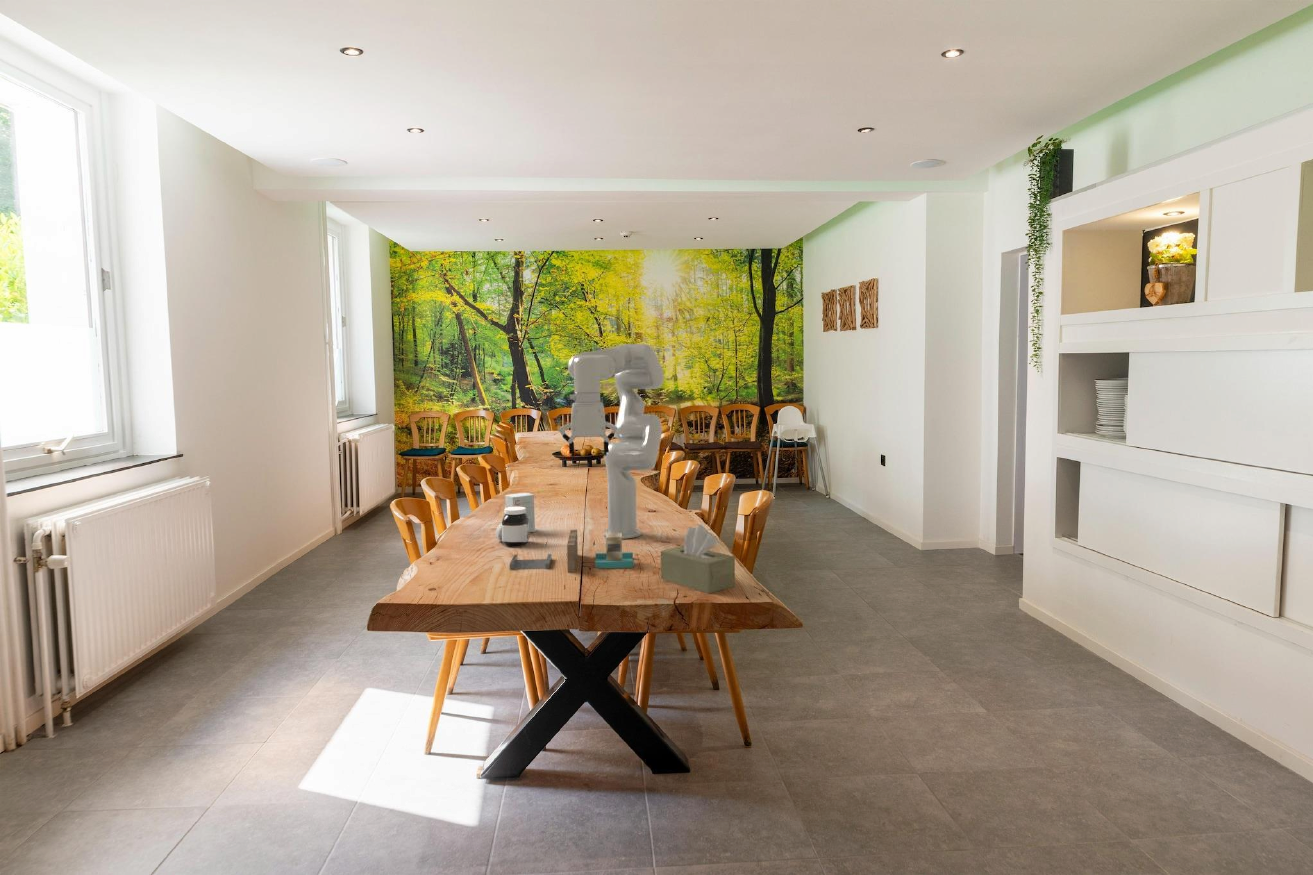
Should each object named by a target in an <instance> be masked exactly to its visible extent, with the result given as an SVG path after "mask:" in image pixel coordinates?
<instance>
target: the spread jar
mask: <svg viewBox="0 0 1313 875" xmlns="http://www.w3.org/2000/svg"><path fill="white" fill-rule="evenodd" d="M494 535H495V539H497V540H498V541H499V542H502V543H503V544H504V545H505V546H506V545H508V546H507V547H512V546H515V547H522V546H521V545H523V546H526V545H527V544H529V540H530V532H529V518H528V516H527V514H526V508H525V507H508V508H504V515H503V518H502V520H501V523H500V524H499V525H498V526H497V527H496V529H495V534H494Z"/></svg>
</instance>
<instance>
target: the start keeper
mask: <svg viewBox="0 0 1313 875" xmlns="http://www.w3.org/2000/svg"><path fill="white" fill-rule="evenodd" d="M551 563H552V554H551V553H548V554H547V557H546V559H545V558H542V559H541V558H540V559H539V558H536V559H535V558H534V559H533V558H532V559H519V558H518V554H514V555H513V557H512V559H511V561H510V562H509V570H510V571H512V570H513V571H514V570H517V571H518V570H519V571H520V570H549V569H550V566H551Z"/></svg>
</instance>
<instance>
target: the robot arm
mask: <svg viewBox="0 0 1313 875" xmlns="http://www.w3.org/2000/svg"><path fill="white" fill-rule="evenodd" d="M567 370H568V374H569V375H570V377H571V378H572V379H573V386H574V389H573V390H574V393H573V394H569V400H571V401H574V402H573V403H572V404H571V412H570V414H571V415H570V422H569V423H567V424H565V425H564V426H561V427H559V429H558V431H559V433H560V435H561V436H562V438H563V439H564V440H565V441H566V442H567V443H568V445H569V446H568V451H569V452H568V453H569V454H570V455H571V457H572V458H573V457H575V442H574V440H575V439H576V438H599V437H600V438H602V439H603V440H604V441H603V457H604V463H605V468H606V478H607V524H608V525H607V526H608V527H607V528H608V529H606V530H604V531H603V536H604V537H606V533H622V540H623V539H634V538H638V537H640V536H641V535H642V530H640V529H639V528H637V527H638V526H637V525H638V524H637V518H638V517H637V482H636V479H635V478H634V476H633V474H632V473H631V472H630V471H637V472H638V471H641V472H642V471H645V472H646V471H647V472H648V471H651V470H653V469H654V467H655V465H656V463H657V460H658V454H659V450H660V443H661V440H662V429H663V426H662V421H661V419H660V417H659V416H657V415H655V414H651V413H650V414H649V413H647V414H646V413H645V402H644V400H643V399H642V397H641V396H640V395H639V394H638V393H637V392H636V390H654V389H656V390H657V389H659V388H661V386H662V385H663V383H664V380H665V376H664V375H665V374H664V370H663V367H662V365H661V363H660V361H659V358H658V356H657V354H656V352H655V351H654V349H653V347H652V346H650V345H649V344H647V343H632V344H631V343H627V344H626V343H625V344H619V345H616V346H613V347H609V348H602V349H598V350H593V351H592V350H591V351H586V352H581V353H576V354H574V355H572V356H571V358H570V359H569V361H568V365H567ZM612 377H614V382H615V387H616V391H617V394H618V398H619V407H618V408H619V409H618V413H617V417H616V421H615V425H614V424H612V423H610V422H608V421H606V415H605V414H606V413H605V407H604V403H603V401H602V402H601V388H600V387H601V384H600V383H601V381H605V380H609V379H611V378H612ZM606 427H607V428H609V429H611V431H610V432H609V434H608V435H607V434H606V432H607V431H606V430H607V429H606ZM568 429H570V432H571V435H570V436H569V435H568V434H567V432H566V431H567V430H568ZM614 437H615V438H616V439H617V440H618V441H616V440H615V441H612V442H610V441H611V440H612V439H613V438H614Z"/></svg>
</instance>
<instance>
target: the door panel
mask: <svg viewBox="0 0 1313 875" xmlns="http://www.w3.org/2000/svg"><path fill="white" fill-rule="evenodd" d="M568 534H569V536H568V540H567V544H566V552H567V553H566V554H567V555H566V556H567V573H576V568H577V563H578V562H577V561H578V557H579V556H578V548H579V547H578V545H579V544H578V529H570V531H569V533H568Z"/></svg>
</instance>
